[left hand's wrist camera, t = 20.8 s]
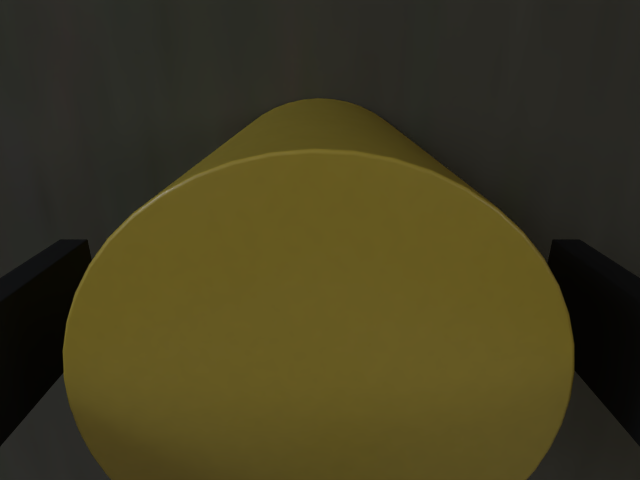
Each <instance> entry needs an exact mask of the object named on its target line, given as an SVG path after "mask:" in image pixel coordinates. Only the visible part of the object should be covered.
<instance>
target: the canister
mask: <svg viewBox="0 0 640 480" xmlns="http://www.w3.org/2000/svg"><path fill="white" fill-rule="evenodd" d="M63 368H64V382H65V386H66V391H67V396H68V401H69V406H70V409H71V411H72V414H73V417H74V419H75V422H76V425H77V427H78V430H79V432H80V434H81V436H82V438H83V439H84V441H85V443H86V445H87V447H88V449H89V450H90V452H91V454H92V455H93V457H94V458H95V460H96V461H97V462H98V464H99V465H100V466H101V468H102V469H103V471H104V472H105V473H106V475H107V476H108V477H109V478H110V479H111V480H527V479H528V478H529V477H530V475H531V474H532V473H533V472H534V471H535V470H536V468H537V467H538V465H539V464H540V462H541V461H542V459H543V458H544V456H545V455H546V454H547V452H548V451H549V449H550V447H551V445H552V443H553V441H554V439H555V437H556V435H557V433H558V431H559V429H560V427H561V425H562V422H563V419H564V416H565V413H566V410H567V407H568V404H569V401H570V397H571V390H572V384H573V378H574V340H573V334H572V328H571V322H570V316H569V312H568V309H567V307H566V304H565V301H564V298H563V295H562V292H561V289H560V287H559V284H558V283H557V281H556V279H555V277H554V275H553V273H552V272H551V270H550V268H549V266H548V264H547V263H546V261H545V259H544V257H543V256H542V255H541V253H540V252H539V251H538V250H537V248H536V247H535V246H534V245H533V243H532V242H531V241H530V239H529V238H528V237H527V236H526V234H525V233H524V232H523V231H522V230H521V229H520V228H519V227H518V226H517V225H516V224H515V223H514V222H512V221H511V220H510V219H509V218H508V217H507V216H506V215H505V214H504V213H503V212H502V211H501V210H500V209H498V208H497V207H496V206H495V205H494V204H492V203H491V202H490V201H488V200H487V199H486V198H484V197H483V196H482V195H481V194H479V193H478V192H477V191H475V190H474V189H473V188H472V187H470V186H469V185H468V184H466V183H465V182H464V181H463V180H461V179H460V178H459V177H457V176H456V175H455V174H453V173H452V172H451V171H450V170H448V169H447V168H446V167H444V166H443V165H442V164H441V163H439V162H438V161H437V160H435V159H434V158H433V157H432V156H430V155H429V154H428V153H426V152H425V151H424V150H422V149H421V148H420V147H419V146H417V145H416V144H415V143H413V142H412V141H411V140H410V139H408V138H407V137H406V136H404V135H403V134H402V133H401V132H399V131H398V130H397V129H395V128H394V127H393V126H391V125H390V124H389V123H388V122H386V121H385V120H383V119H382V118H381V117H379V116H378V115H376V114H375V113H373V112H371V111H369V110H367V109H365V108H363V107H361V106H358V105H355V104H352V103H349V102H345V101H340V100H335V99H320V98H316V99H305V100H299V101H295V102H290V103H287V104H284V105H282V106H279V107H276V108H274V109H272V110H270V111H269V112H267V113H265V114H263V115H261V116H260V117H259V118H257V119H256V120H255V121H253V122H252V123H251V124H249V125H248V126H247V127H245V128H244V129H243V130H242V131H240V132H239V133H238V134H236V135H235V136H234V137H232V138H231V139H230V140H228V141H227V142H226V143H224V144H223V145H222V146H220V147H219V148H218V149H217V150H215V151H214V152H213V153H211V154H210V155H209V156H207V157H206V158H205V159H203V160H202V161H201V162H199V163H198V164H197V165H195V166H194V167H193V168H192V169H190V170H189V171H188V172H186V173H185V174H184V175H182V176H181V177H180V178H178V179H177V180H176V181H174V182H173V183H172V184H171V185H169V186H168V187H167V188H165V189H164V190H163V191H161V192H160V193H159V194H157V195H156V196H155V197H153V198H152V199H151V200H149V201H148V202H147V203H146V204H144V205H143V206H142V207H140V208H139V209H138V210H136V211H135V212H134V213H132V214H131V215H130V216H129V217H128V218H127V219H126V220H125V221H124V222H123V223H122V224H121V226H120V227H119V228H118V229H117V230H116V231H115V232H114V233H113V234H112V235H111V236H110V237H109V238H108V239H107V240H106V242H105V243H104V244H103V246H102V247H101V249H100V250H99V251H98V253H97V254H96V256H95V257H94V258H93V260H92V261H91V263H90V264H89V266H88V268H87V270H86V272H85V274H84V276H83V278H82V280H81V282H80V284H79V286H78V288H77V290H76V292H75V295H74V298H73V302H72V305H71V308H70V312H69V315H68V318H67V322H66V330H65V338H64V346H63Z"/></svg>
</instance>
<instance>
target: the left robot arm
mask: <svg viewBox="0 0 640 480" xmlns="http://www.w3.org/2000/svg"><path fill="white" fill-rule="evenodd" d="M91 261H92V260H91V255H90V250H89V245H88V240H59V241H57V242H56V243H54V244H53V245H51V246H50V247H48V248H46V249H45V250H43V251H42V252H40V253H39V254H37V255H36V256H34V257H32V258H31V259H29V260H28V261H26V262H25V263H23V264H22V265H20V266H18V267H17V268H15V269H14V270H12V271H11V272H9V273H8V274H6V275H5V276H3V277H1V278H0V446H1V445H2V444H3V442H4V441H5V440H6V439H7V438H8V437H9V435H10V434H11V433H12V432H13V431H14V430H15V428H16V427H17V426H18V425H19V424H20V423H21V421H22V420H23V419H24V418H25V417H26V416H27V414H28V413H29V412H30V411H31V410H32V409H33V407H34V406H35V405H36V404H37V403H38V402H39V400H40V399H41V398H42V397H43V396H44V395H45V393H46V392H47V391H48V390H49V389H50V388H51V386H52V385H53V384H54V383H55V382H56V381H57V379H58V378H59V377H60V376H61V375H62V373H63V372H64V368H63V346H64V338H65V330H66V322H67V318H68V315H69V312H70V308H71V305H72V302H73V298H74V295H75V292H76V290H77V288H78V286H79V284H80V282H81V280H82V278H83V276H84V274H85V272H86V270H87V268H88V266H89V264H90V263H91ZM548 266H549V268H550V270H551V272H552V273H553V275H554V277H555V279H556V281H557V283H558V284H559V287H560V289H561V292H562V295H563V298H564V301H565V304H566V307H567V309H568V312H569V316H570V322H571V328H572V334H573V340H574V370H575V371H576V372H577V373H578V375H579V376H580V377H581V378H582V379H583V381H584V382H585V383H586V384H587V385H588V386H589V388H590V389H591V390H592V391H593V392H594V393H595V395H596V396H597V397H598V398H599V399H600V400H601V402H602V403H603V404H604V405H605V406H606V407H607V409H608V410H609V411H610V412H611V413H612V414H613V416H614V417H615V418H616V419H617V420H618V421H619V423H620V424H621V425H622V426H623V427H624V428H625V430H626V431H627V432H628V433H629V434H630V435H631V437H632V438H633V439H634V440H635V441H636V442H637V444H638V445H639V446H640V278H639V277H637V276H635V275H634V274H632V273H631V272H629V271H628V270H626V269H625V268H623V267H622V266H620V265H618V264H617V263H615V262H614V261H612V260H611V259H609V258H608V257H606V256H604V255H603V254H601V253H600V252H598V251H597V250H595V249H594V248H592V247H590V246H589V245H587V244H586V243H584V242H583V241H581V240H552V245H551V250H550V255H549V260H548Z"/></svg>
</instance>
